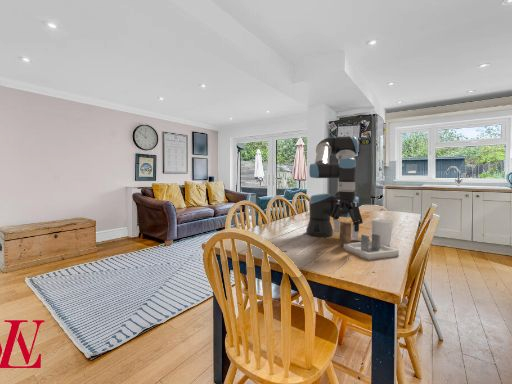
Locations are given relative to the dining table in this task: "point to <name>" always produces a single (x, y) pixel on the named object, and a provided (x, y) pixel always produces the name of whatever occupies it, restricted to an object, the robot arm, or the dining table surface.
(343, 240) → the brown rectangular block
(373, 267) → the dining table surface
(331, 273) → the dining table surface
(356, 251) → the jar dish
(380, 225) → the candle holder
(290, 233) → the dining table surface
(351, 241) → the wick
